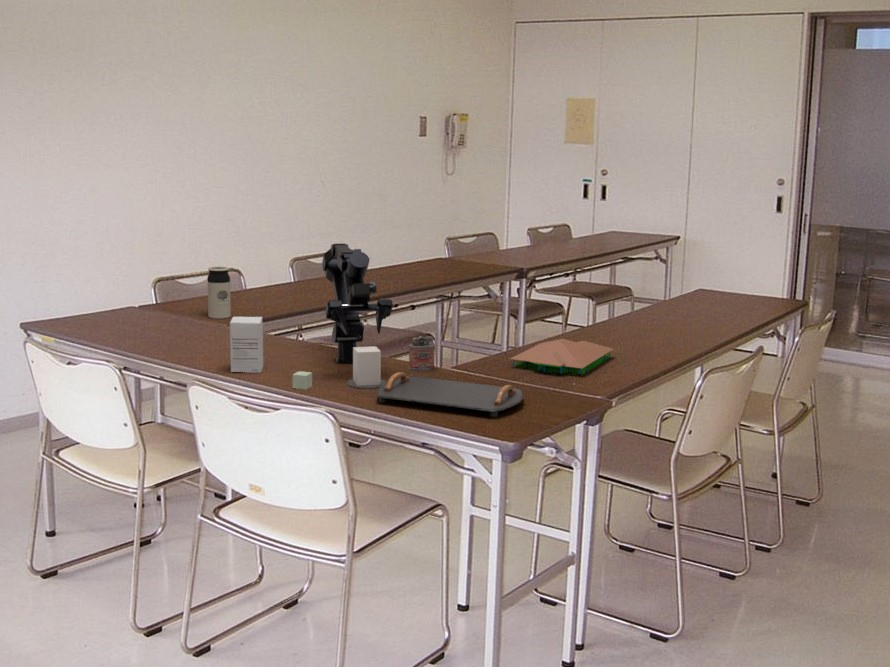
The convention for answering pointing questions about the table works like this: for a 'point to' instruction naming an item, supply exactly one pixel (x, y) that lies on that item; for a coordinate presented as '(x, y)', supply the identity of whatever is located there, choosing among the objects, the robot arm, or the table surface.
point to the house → (564, 355)
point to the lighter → (421, 354)
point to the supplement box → (246, 344)
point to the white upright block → (366, 366)
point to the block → (302, 380)
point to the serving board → (450, 393)
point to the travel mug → (219, 293)
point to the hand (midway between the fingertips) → (363, 333)
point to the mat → (353, 384)
